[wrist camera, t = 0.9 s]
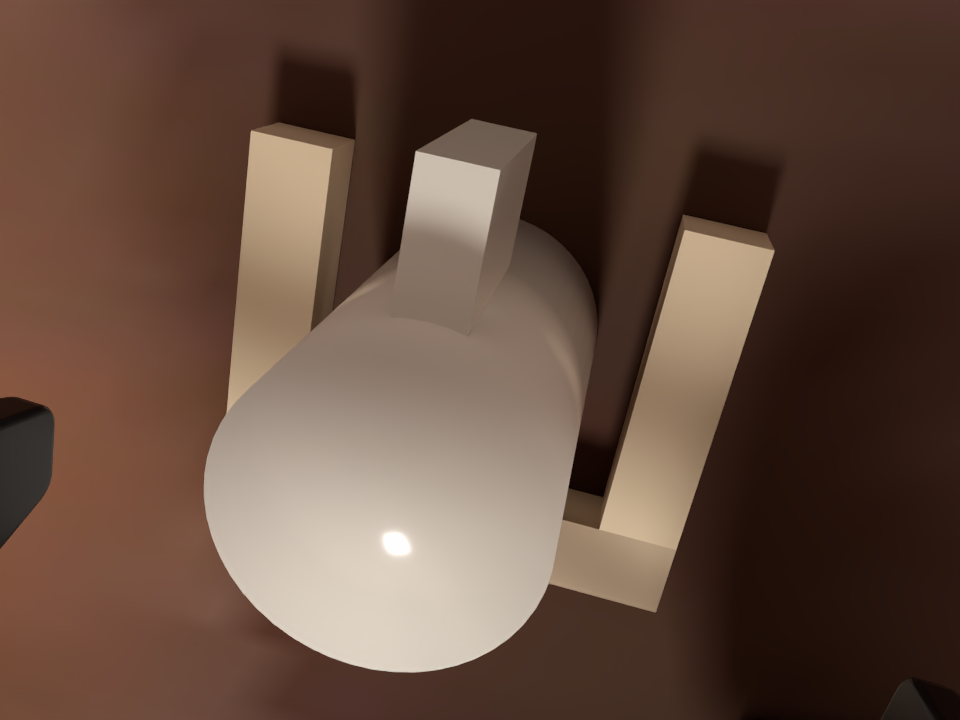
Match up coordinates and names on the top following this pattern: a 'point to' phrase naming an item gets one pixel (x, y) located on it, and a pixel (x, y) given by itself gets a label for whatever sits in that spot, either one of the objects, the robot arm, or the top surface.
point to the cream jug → (417, 431)
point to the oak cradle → (658, 388)
